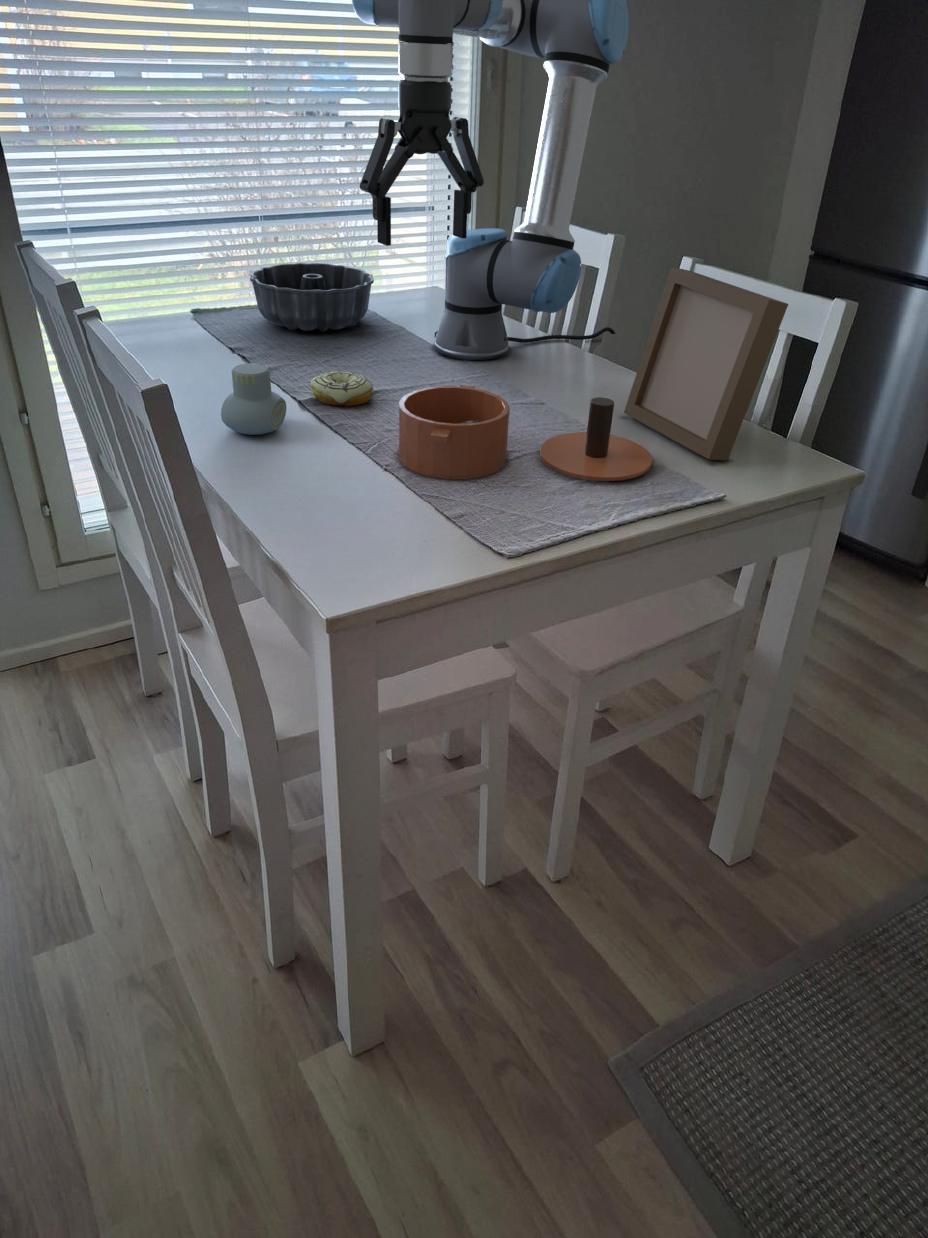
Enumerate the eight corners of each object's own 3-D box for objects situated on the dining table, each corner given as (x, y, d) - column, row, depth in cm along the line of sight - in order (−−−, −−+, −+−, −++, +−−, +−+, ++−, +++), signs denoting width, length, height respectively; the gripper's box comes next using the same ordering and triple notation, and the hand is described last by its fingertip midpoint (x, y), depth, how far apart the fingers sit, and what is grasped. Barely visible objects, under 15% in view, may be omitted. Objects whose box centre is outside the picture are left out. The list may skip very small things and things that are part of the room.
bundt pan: (329, 300, 216) (327, 256, 210) (398, 326, 200) (398, 279, 194) (230, 317, 200) (226, 270, 195) (298, 347, 184) (295, 296, 179)
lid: (652, 445, 149) (661, 388, 144) (650, 490, 134) (660, 428, 129) (545, 433, 151) (551, 377, 146) (532, 476, 137) (538, 415, 131)
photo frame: (707, 465, 143) (740, 303, 129) (622, 418, 159) (644, 268, 145) (775, 449, 150) (813, 293, 136) (687, 406, 165) (714, 262, 151)
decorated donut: (345, 413, 155) (344, 392, 153) (299, 399, 160) (298, 378, 158) (384, 397, 162) (383, 376, 160) (339, 383, 167) (338, 363, 165)
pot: (514, 436, 150) (518, 386, 145) (493, 492, 132) (497, 437, 127) (416, 425, 152) (417, 376, 147) (382, 479, 134) (382, 425, 129)
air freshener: (267, 444, 143) (262, 382, 137) (218, 438, 144) (211, 376, 138) (291, 419, 152) (287, 360, 146) (244, 414, 153) (238, 355, 147)
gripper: (482, 77, 136) (475, 229, 147) (332, 76, 123) (338, 241, 135) (512, 81, 130) (502, 238, 142) (359, 80, 118) (363, 251, 130)
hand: (422, 240), depth 139 cm, fingers open, 13 cm apart
